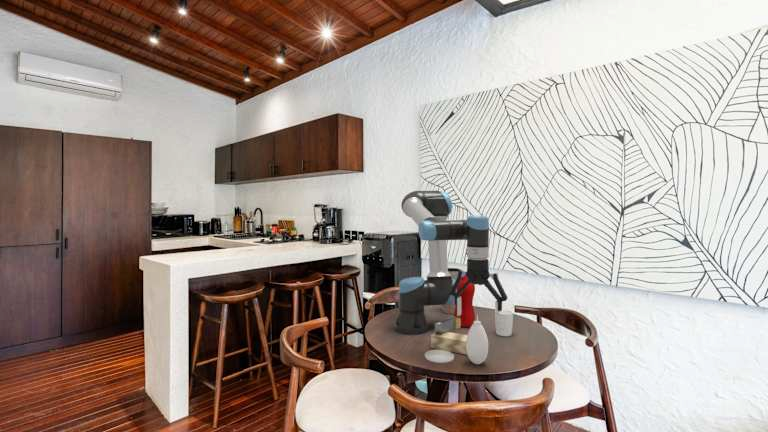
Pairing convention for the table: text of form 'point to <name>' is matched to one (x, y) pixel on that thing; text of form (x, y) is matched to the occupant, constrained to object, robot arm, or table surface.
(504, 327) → the white cup
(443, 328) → the lever
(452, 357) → the white round disc
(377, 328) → the table surface
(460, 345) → the beige long block
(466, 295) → the red lumpy piece
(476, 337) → the sauce bottle
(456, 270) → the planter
